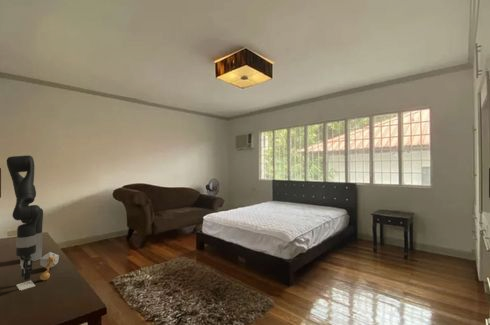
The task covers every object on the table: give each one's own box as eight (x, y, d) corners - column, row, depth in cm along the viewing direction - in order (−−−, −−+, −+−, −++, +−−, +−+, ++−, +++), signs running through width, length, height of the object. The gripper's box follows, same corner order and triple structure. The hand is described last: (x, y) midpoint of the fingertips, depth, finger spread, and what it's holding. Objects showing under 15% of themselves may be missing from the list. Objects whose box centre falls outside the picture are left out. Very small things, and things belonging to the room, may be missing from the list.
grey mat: (16, 285, 121) (16, 284, 121) (31, 280, 126) (31, 280, 126) (19, 290, 115) (19, 290, 115) (35, 286, 120) (35, 285, 120)
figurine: (37, 279, 127) (38, 256, 128) (51, 275, 132) (52, 253, 133) (42, 283, 123) (43, 260, 123) (56, 279, 127) (57, 256, 128)
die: (48, 272, 136) (48, 254, 136) (35, 271, 137) (36, 253, 138) (62, 266, 144) (62, 249, 144) (50, 265, 146) (50, 248, 146)
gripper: (13, 243, 122) (13, 276, 122) (19, 249, 114) (18, 285, 113) (32, 240, 128) (32, 271, 128) (39, 245, 119) (38, 279, 119)
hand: (25, 277), depth 121 cm, fingers open, 5 cm apart
